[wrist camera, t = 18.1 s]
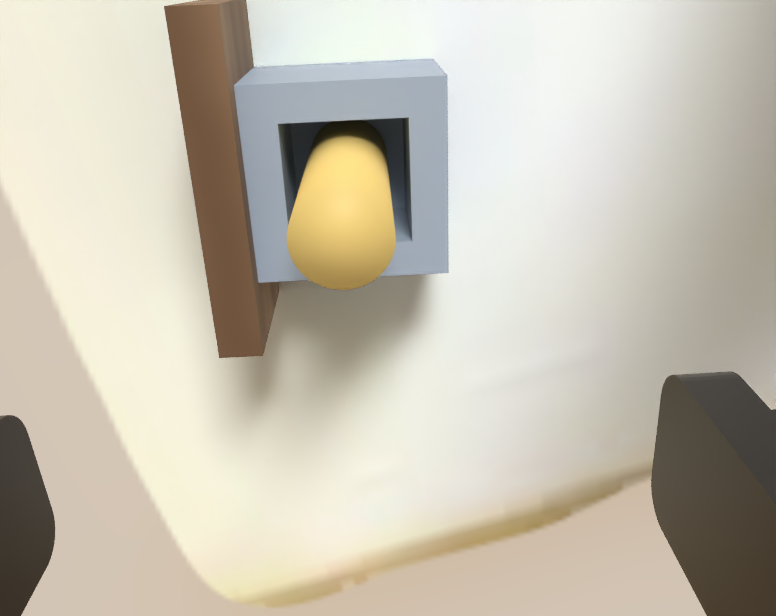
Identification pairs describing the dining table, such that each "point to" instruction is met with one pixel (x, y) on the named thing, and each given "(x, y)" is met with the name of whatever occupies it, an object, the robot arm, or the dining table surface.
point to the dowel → (343, 208)
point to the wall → (220, 166)
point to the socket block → (340, 103)
